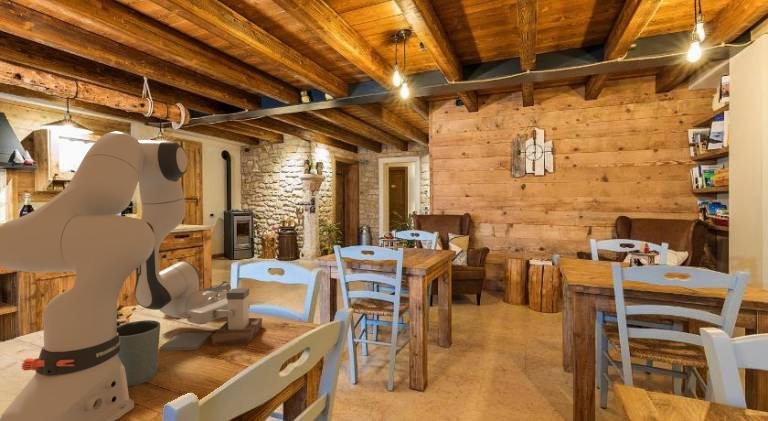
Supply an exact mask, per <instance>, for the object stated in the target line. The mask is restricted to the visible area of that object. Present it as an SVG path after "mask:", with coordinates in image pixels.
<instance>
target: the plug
mask: <svg viewBox="0 0 768 421" xmlns="http://www.w3.org/2000/svg"><path fill="white" fill-rule="evenodd" d="M249 295H250V288H248V287H247V288H246V287H245V288H231V289H230V290H229V292H227V299H228V310H229V309H230V310H234V316H232V317H227V321H228V330H240V329H246V328H247V327H248V326H249V318H250V317H249V316H250V314H249V311H250V310H249V309H250V308H249V306H248V303H249Z"/></svg>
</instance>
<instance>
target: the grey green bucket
mask: <svg viewBox="0 0 768 421" xmlns="http://www.w3.org/2000/svg"><path fill="white" fill-rule="evenodd" d="M117 332H118V333H119V339H120V351H119V352H118V355H119V358H120V361H121V362H122V364H123V366H124V368H125V373H126V379H127V387H132V386H136V385H140V384H143V383H146V382H149V381H151V380H152V379H154V378H155V377H156V376H157V374H158V371H159V358H158V357H159V344H160V333H161V322H159V321H158V320H152V319H151V320H147V319H146V320H136V321H130V322H126V323H122V324H120V325H117Z"/></svg>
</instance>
